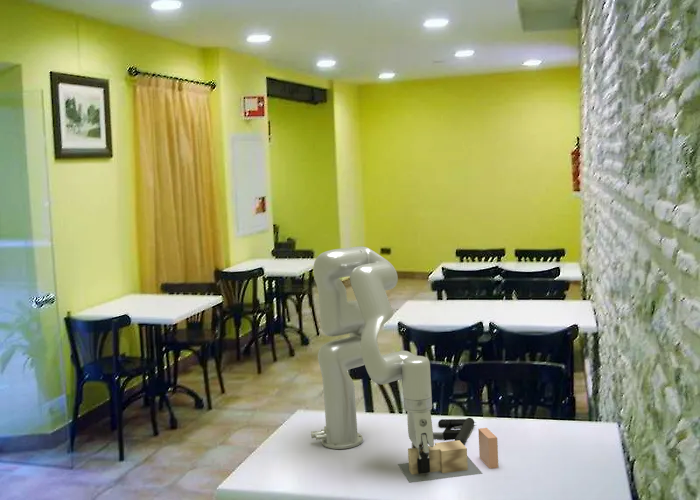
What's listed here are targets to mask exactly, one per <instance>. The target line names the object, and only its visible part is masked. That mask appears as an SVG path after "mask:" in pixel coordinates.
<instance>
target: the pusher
mask: <svg viewBox="0 0 700 500" xmlns="http://www.w3.org/2000/svg"><path fill="white" fill-rule="evenodd" d="M428 448H429V461H430V472H436V471H441V472H442V473H448V472H456V471H464V470H468V463H467V456H468V448H467V447H466V446H465V444H464V445H463V444H462V442H461V441H460V440H457V441H455V440H448V441H442V442H434V446H433V447H430V446H429V445H428ZM422 451H423V449H421V450H420V452H422ZM407 459H408V460H407V461H408V463H409V471H410V472H411V474H419V473H418V465H417V459H418V450H417V448H412V447H409V448H407Z"/></svg>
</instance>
